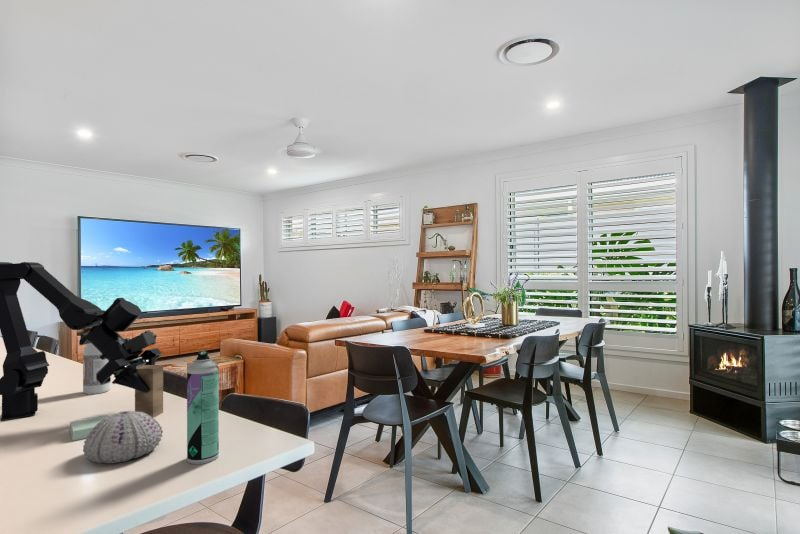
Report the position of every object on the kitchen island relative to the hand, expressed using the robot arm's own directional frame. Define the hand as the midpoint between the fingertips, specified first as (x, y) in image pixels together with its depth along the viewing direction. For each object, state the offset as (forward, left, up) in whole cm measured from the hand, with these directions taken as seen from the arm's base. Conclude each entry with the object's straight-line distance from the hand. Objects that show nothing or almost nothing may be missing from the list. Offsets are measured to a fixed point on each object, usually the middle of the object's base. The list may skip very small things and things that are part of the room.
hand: (154, 388), depth 112 cm
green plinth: (-13, -4, -7) cm, 15 cm away
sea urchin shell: (-10, -23, -7) cm, 26 cm away
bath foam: (-8, +38, -7) cm, 39 cm away
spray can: (+1, -36, -7) cm, 37 cm away
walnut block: (-1, +1, -7) cm, 7 cm away
